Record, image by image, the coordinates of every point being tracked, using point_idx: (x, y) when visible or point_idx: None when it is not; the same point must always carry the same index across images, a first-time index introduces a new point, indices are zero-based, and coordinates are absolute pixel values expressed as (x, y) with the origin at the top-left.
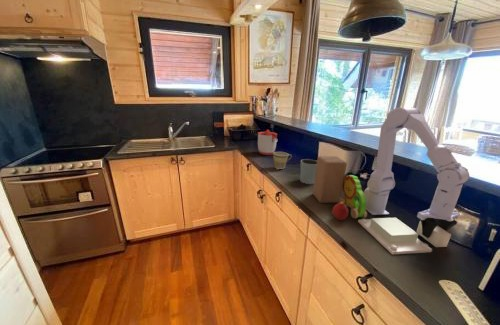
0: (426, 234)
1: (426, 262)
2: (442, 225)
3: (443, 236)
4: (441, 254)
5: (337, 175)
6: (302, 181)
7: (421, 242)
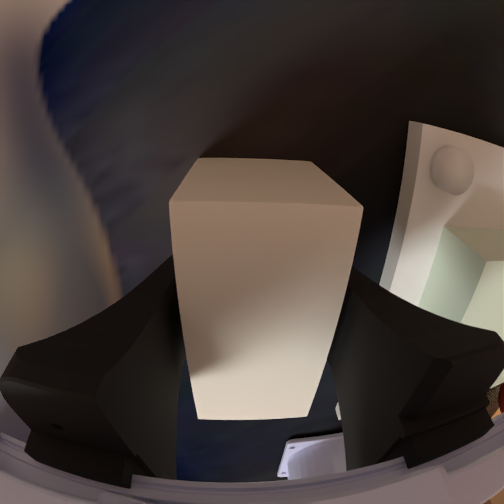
0: None
1: (501, 71)
2: (164, 364)
3: (298, 192)
4: (355, 78)
5: None
6: None
7: (420, 211)
